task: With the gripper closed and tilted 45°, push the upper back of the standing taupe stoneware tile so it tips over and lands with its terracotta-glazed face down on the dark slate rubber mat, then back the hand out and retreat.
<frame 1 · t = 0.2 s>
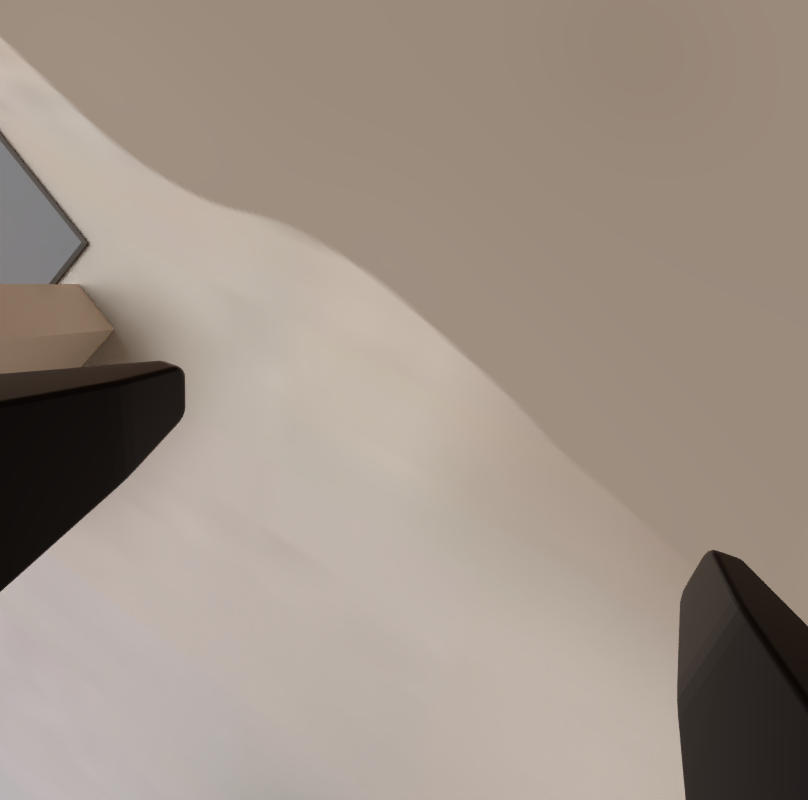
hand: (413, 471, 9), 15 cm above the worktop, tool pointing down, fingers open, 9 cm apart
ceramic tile: (41, 372, 30), on the worktop
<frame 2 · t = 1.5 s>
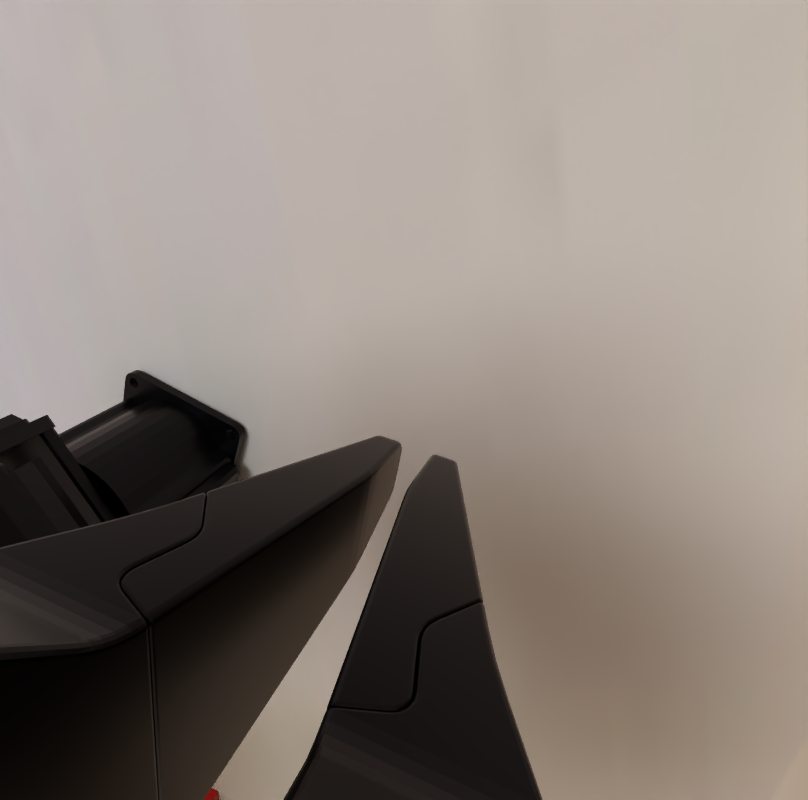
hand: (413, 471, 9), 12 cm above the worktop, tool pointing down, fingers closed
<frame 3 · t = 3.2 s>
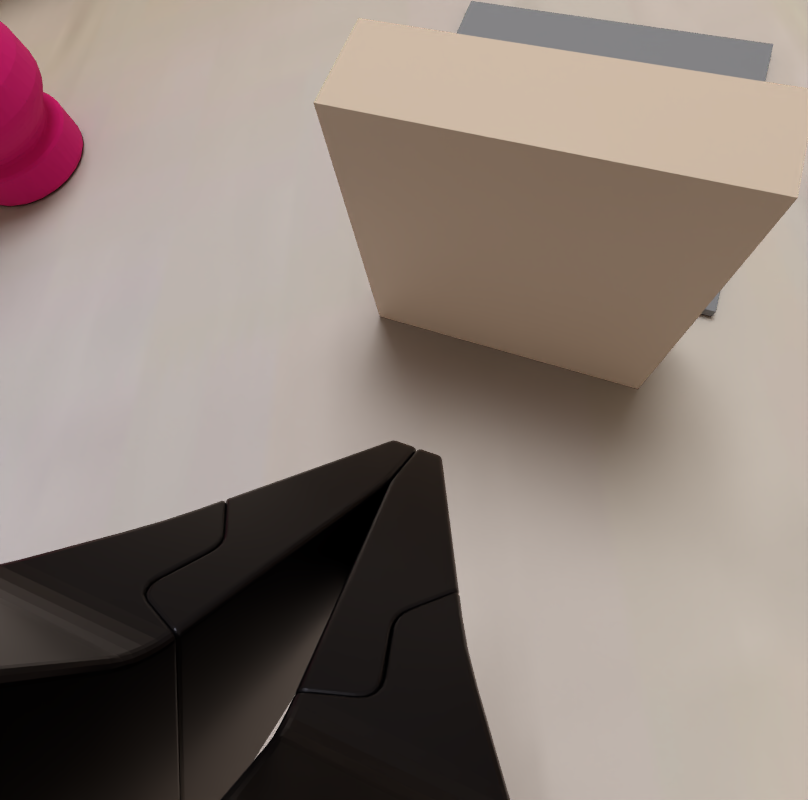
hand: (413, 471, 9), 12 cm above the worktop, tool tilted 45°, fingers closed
pepper mill: (32, 162, 29), on the worktop
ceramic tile: (512, 320, 23), on the worktop
slate mat: (573, 140, 26), on the worktop
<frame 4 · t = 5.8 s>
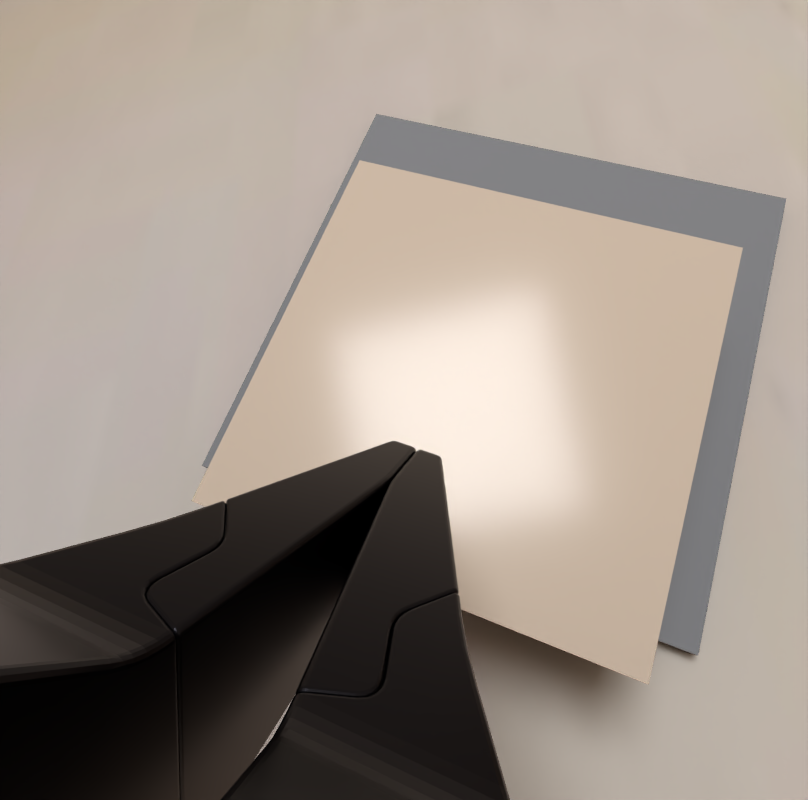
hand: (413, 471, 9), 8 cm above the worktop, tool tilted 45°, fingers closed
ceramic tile: (405, 585, 14), point 2 cm above the worktop, tilted 90°, touching slate mat
slate mat: (502, 333, 18), on the worktop
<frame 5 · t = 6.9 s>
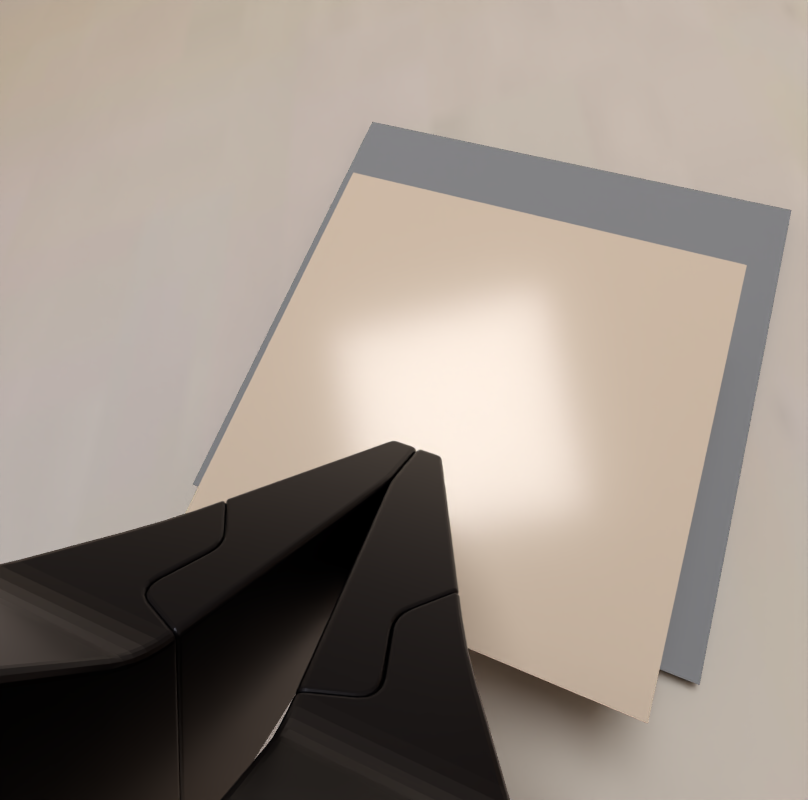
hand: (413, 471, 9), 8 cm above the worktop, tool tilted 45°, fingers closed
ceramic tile: (397, 613, 13), point 2 cm above the worktop, tilted 90°, touching slate mat
slate mat: (500, 348, 18), on the worktop
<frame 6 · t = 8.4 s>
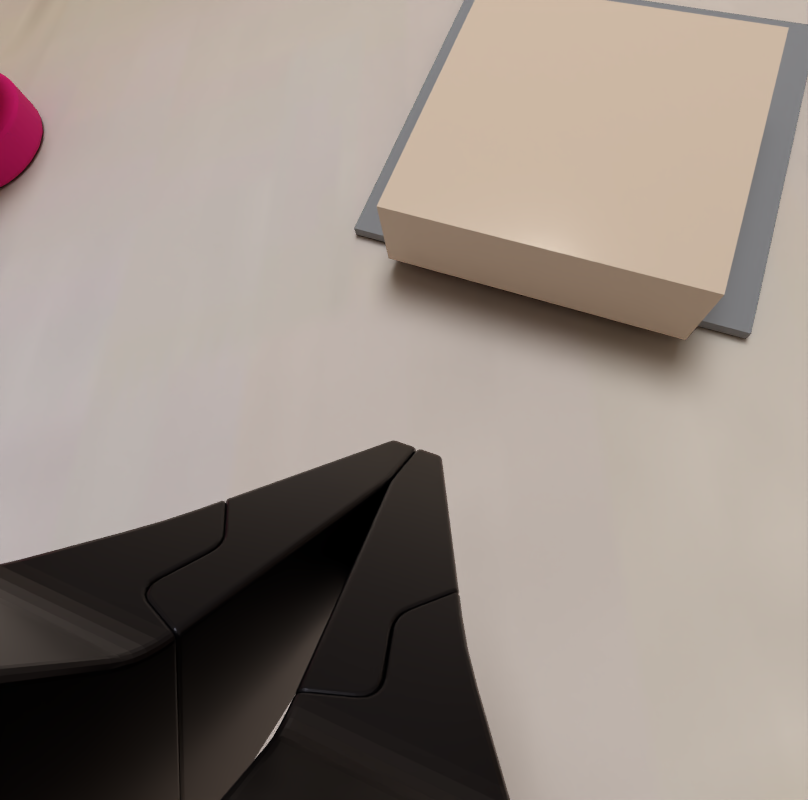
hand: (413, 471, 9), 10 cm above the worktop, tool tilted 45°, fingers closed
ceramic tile: (532, 273, 18), point 2 cm above the worktop, tilted 90°, touching slate mat
slate mat: (588, 132, 23), on the worktop
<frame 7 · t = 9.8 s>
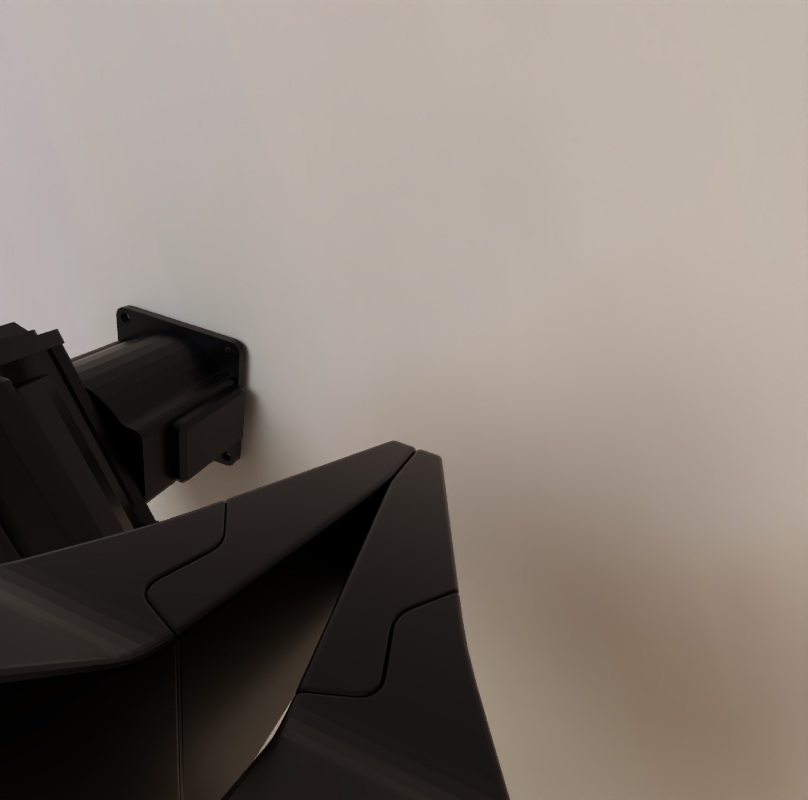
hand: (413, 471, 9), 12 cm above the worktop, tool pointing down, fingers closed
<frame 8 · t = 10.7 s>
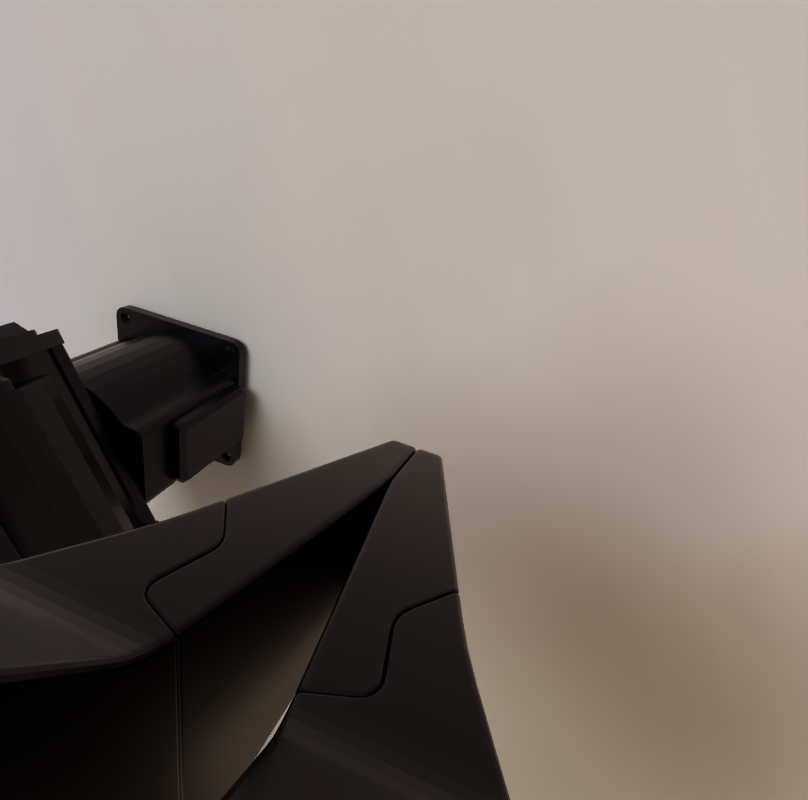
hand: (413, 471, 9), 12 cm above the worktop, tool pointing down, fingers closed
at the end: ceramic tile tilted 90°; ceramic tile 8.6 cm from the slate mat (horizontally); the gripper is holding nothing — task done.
